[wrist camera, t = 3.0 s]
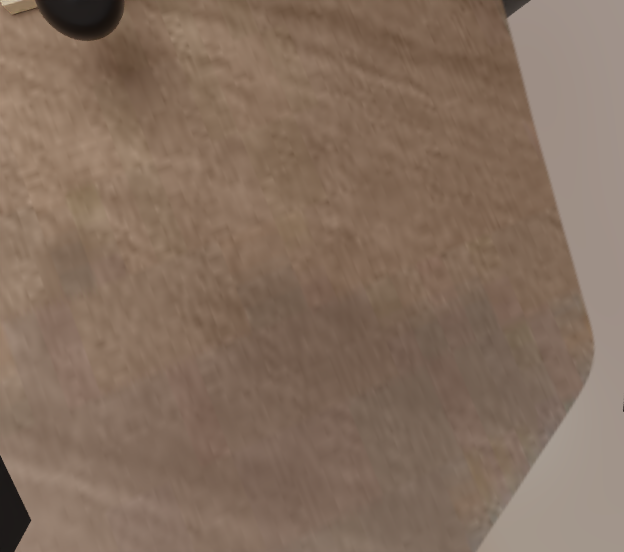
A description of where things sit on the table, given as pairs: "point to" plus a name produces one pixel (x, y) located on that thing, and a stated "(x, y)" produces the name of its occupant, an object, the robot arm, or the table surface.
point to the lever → (82, 17)
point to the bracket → (18, 5)
